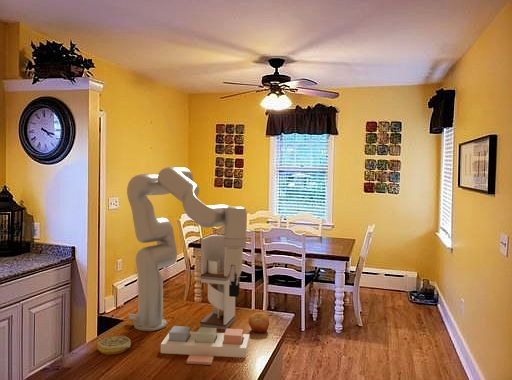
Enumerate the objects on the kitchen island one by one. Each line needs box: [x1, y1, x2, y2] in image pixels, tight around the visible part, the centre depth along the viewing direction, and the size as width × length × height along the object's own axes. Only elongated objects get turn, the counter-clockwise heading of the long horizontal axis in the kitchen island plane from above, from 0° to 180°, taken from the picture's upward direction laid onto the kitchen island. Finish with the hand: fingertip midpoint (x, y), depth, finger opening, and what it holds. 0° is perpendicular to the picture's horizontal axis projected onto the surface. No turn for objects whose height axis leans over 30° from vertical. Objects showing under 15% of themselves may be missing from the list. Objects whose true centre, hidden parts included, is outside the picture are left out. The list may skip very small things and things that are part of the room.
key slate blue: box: [168, 325, 191, 342], centre depth 150 cm, size 6×6×3 cm
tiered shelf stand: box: [199, 234, 236, 331], centre depth 172 cm, size 11×11×35 cm
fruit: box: [247, 311, 270, 333], centre depth 166 cm, size 8×8×8 cm
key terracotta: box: [223, 328, 244, 345], centre depth 148 cm, size 6×6×3 cm
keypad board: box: [160, 330, 251, 359], centre depth 149 cm, size 29×12×3 cm, turn 85°
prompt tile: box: [186, 354, 215, 366], centre depth 139 cm, size 8×5×1 cm, turn 85°
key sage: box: [196, 327, 218, 343], centre depth 149 cm, size 6×6×3 cm
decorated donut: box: [96, 335, 132, 356], centre depth 146 cm, size 10×11×4 cm
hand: (234, 295), depth 147 cm, fingers closed
